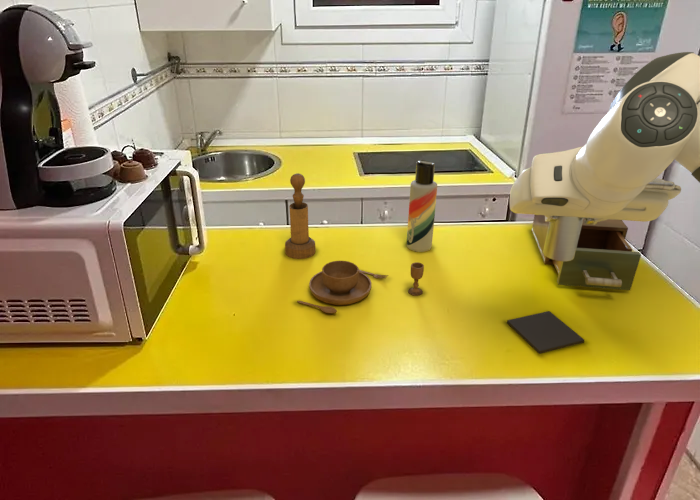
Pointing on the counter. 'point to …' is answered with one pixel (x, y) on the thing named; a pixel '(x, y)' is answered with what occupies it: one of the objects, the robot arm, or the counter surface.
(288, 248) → the mortar and pestle
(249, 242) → the counter surface
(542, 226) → the cabinet
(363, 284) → the place setting
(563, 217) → the spice jar
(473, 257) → the counter surface
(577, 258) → the drawer
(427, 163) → the lotion bottle
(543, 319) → the mat
